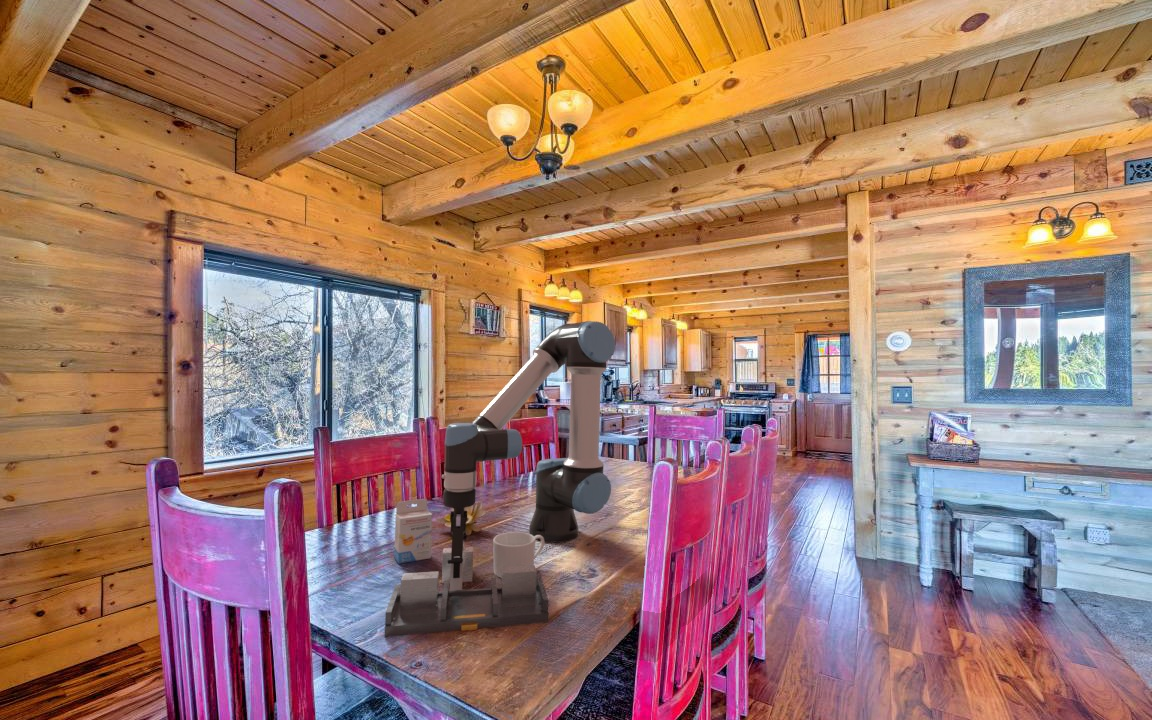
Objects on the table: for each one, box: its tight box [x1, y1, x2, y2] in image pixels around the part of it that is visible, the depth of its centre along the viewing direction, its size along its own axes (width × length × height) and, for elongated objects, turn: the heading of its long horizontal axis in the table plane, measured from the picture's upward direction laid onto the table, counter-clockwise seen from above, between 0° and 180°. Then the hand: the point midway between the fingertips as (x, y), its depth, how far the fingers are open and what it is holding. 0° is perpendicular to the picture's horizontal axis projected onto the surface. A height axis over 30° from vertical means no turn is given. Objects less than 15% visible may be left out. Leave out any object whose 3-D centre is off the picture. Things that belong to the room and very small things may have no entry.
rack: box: [383, 565, 550, 637], centre depth 99 cm, size 31×14×8 cm, turn 102°
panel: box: [441, 546, 474, 584], centre depth 115 cm, size 7×3×7 cm, turn 102°
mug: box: [492, 531, 545, 579], centre depth 121 cm, size 13×10×8 cm
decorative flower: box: [434, 500, 486, 536], centre depth 149 cm, size 15×11×10 cm
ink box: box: [393, 498, 433, 565], centre depth 127 cm, size 8×5×15 cm, turn 123°
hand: (457, 578), depth 115 cm, fingers open, 12 cm apart
